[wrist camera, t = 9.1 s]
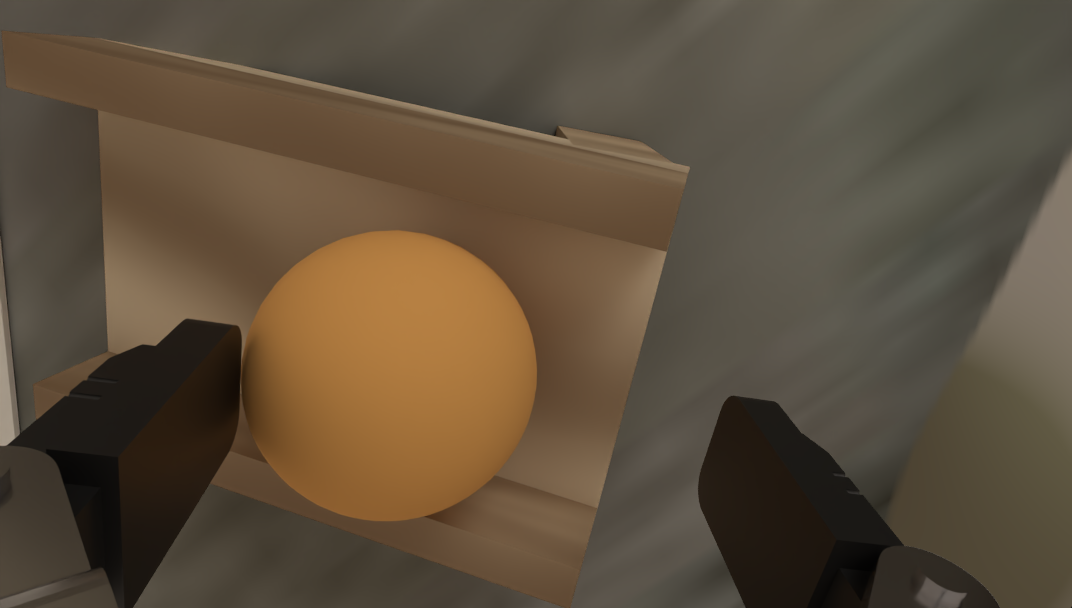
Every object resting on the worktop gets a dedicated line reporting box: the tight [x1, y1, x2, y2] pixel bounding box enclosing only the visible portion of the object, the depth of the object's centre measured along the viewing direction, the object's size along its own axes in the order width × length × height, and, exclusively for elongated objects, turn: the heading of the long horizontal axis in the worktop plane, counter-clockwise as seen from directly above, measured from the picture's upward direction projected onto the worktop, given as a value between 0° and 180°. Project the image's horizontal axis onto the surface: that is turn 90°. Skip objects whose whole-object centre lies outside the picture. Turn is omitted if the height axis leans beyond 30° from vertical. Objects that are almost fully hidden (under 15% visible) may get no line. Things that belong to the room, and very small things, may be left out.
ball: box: [241, 230, 537, 521], centre depth 12 cm, size 5×5×5 cm
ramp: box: [2, 31, 690, 608], centre depth 14 cm, size 8×13×7 cm, turn 79°
